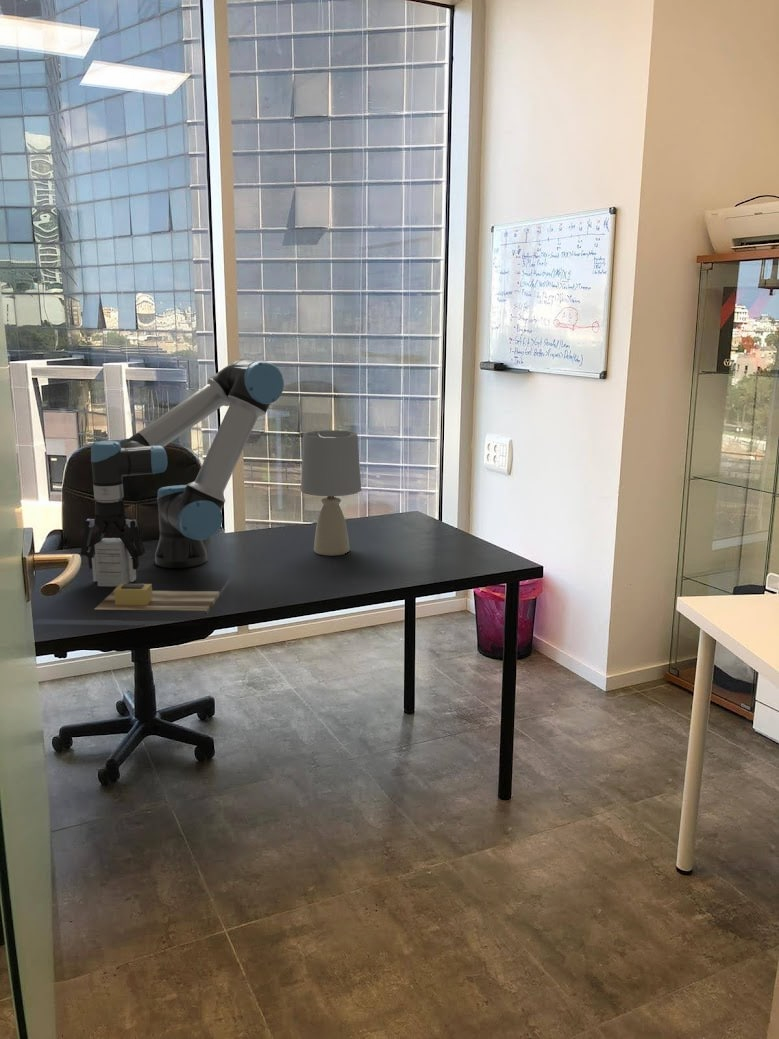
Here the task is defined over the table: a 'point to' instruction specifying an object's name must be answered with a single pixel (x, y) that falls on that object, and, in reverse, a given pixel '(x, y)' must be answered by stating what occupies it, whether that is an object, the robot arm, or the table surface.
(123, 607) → the plywood panel
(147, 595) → the block
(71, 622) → the table surface
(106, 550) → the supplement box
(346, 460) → the lamp
